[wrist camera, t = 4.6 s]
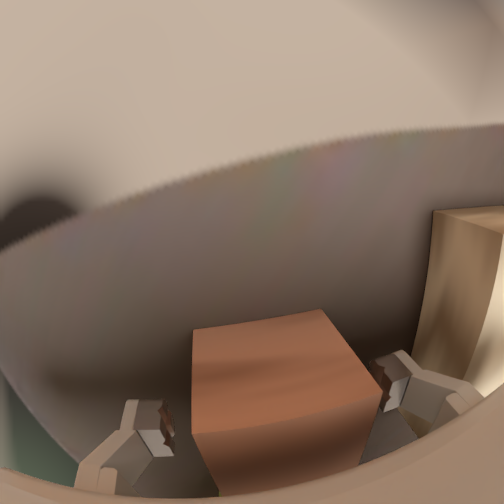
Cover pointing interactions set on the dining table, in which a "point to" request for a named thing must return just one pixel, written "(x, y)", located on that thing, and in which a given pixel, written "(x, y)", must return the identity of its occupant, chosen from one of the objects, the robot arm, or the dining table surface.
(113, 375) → the dining table surface
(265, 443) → the terracotta cube
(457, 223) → the birch base
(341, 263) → the dining table surface
